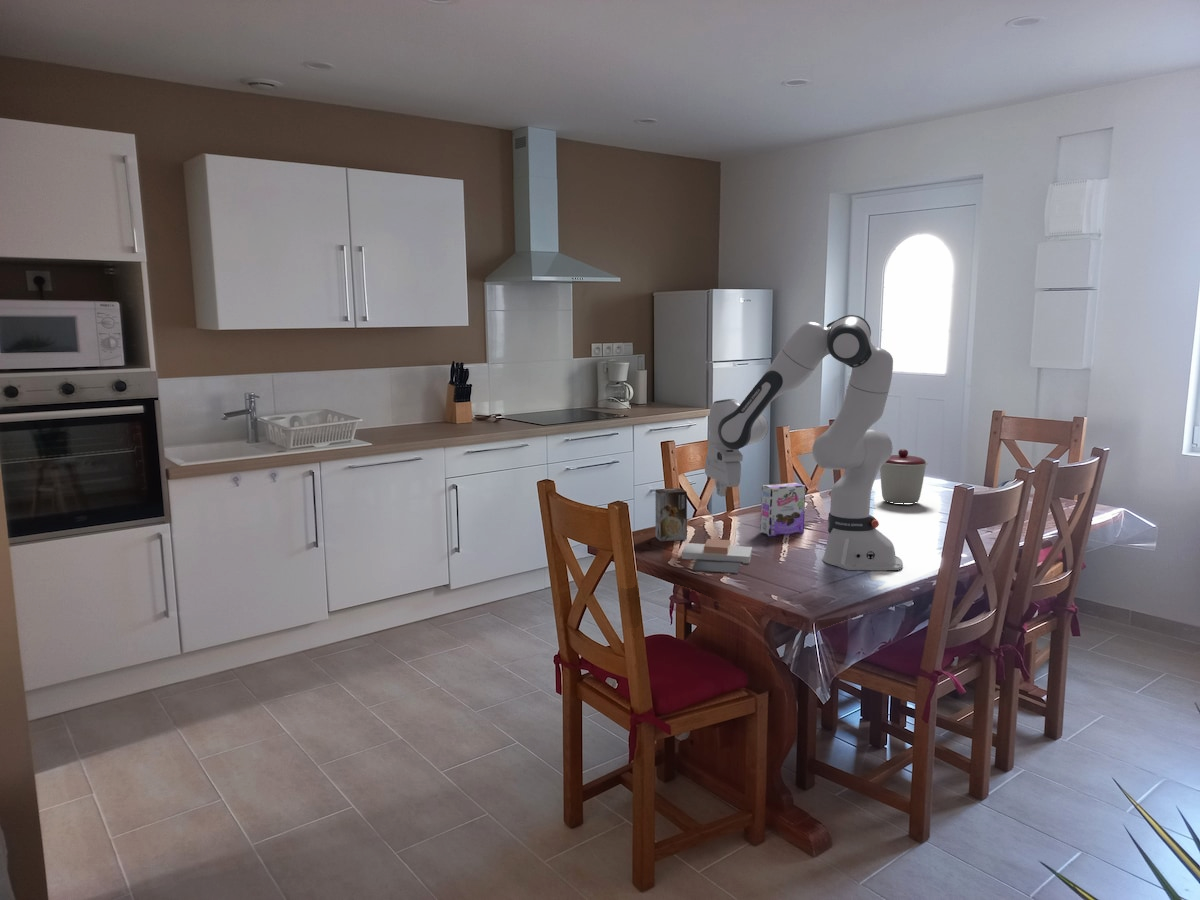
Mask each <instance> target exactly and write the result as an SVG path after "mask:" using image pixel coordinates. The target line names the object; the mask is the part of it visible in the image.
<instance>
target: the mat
mask: <svg viewBox="0 0 1200 900" xmlns="http://www.w3.org/2000/svg"><path fill="white" fill-rule="evenodd" d="M740 563H741V562H733V561H718V560H703V559H696V560H695V561H694V563H693V566H692V567H691V569H690V570H695V571H694V572H700V571H706V572H705V573H714V572H721V573H720V574H728V573H734V574H733V575H738V574H737V573H739V569H740V566H741V564H742V563H741V564H740Z"/></svg>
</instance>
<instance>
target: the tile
mask: <svg viewBox="0 0 1200 900" xmlns="http://www.w3.org/2000/svg"><path fill="white" fill-rule="evenodd" d="M704 544H705V545H704V553H713V554H728V552H729V549H730V546H731V540H730V539H718V538H717V539H715V538H708V539H707V538H706V542H705V543H704Z"/></svg>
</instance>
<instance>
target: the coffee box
mask: <svg viewBox="0 0 1200 900" xmlns="http://www.w3.org/2000/svg"><path fill="white" fill-rule="evenodd" d="M654 492H655V538H656V539H658V541H659V542H670V541H685V540H686V541H687V540H688V493H687V490H685V489H683V488H681V487H680V488H677V487H676V488H657V489H655V491H654Z"/></svg>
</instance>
